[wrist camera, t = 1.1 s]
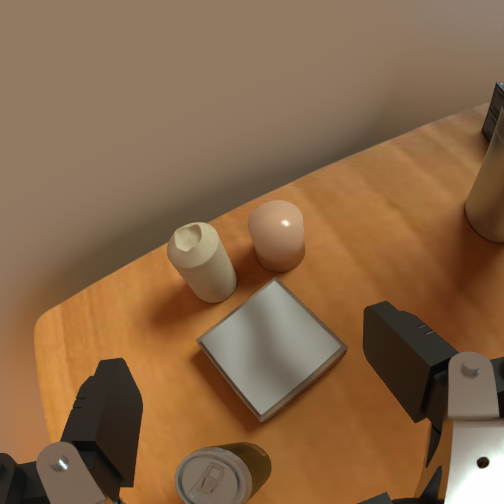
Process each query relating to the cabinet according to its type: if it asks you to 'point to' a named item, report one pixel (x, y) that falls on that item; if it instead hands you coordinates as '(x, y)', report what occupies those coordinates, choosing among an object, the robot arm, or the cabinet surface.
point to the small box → (494, 111)
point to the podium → (271, 349)
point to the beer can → (222, 474)
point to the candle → (202, 262)
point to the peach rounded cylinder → (277, 235)
